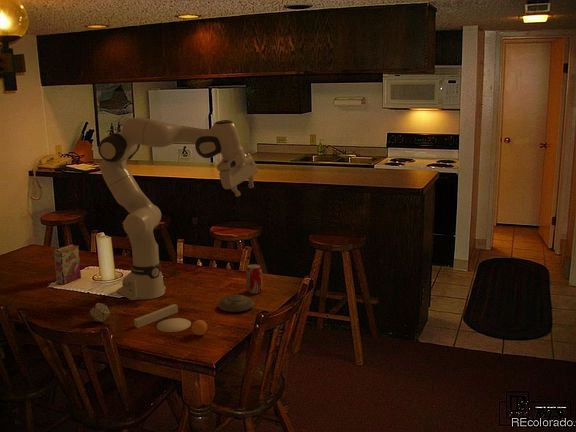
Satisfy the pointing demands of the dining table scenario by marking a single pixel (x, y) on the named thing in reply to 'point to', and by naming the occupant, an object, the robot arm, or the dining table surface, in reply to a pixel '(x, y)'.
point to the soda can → (254, 278)
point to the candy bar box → (67, 264)
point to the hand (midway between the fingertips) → (245, 191)
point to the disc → (173, 325)
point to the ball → (199, 327)
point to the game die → (100, 312)
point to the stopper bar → (155, 315)
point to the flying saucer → (236, 303)
